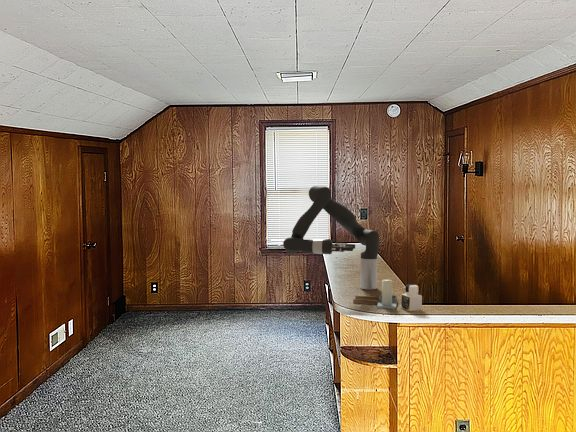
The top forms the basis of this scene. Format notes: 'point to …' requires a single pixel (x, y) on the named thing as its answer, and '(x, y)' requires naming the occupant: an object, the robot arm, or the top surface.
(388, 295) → the sage canister
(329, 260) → the top surface
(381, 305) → the slate-blue platform
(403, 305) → the medicine bottle
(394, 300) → the charcoal pit
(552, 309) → the top surface
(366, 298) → the walnut channel
